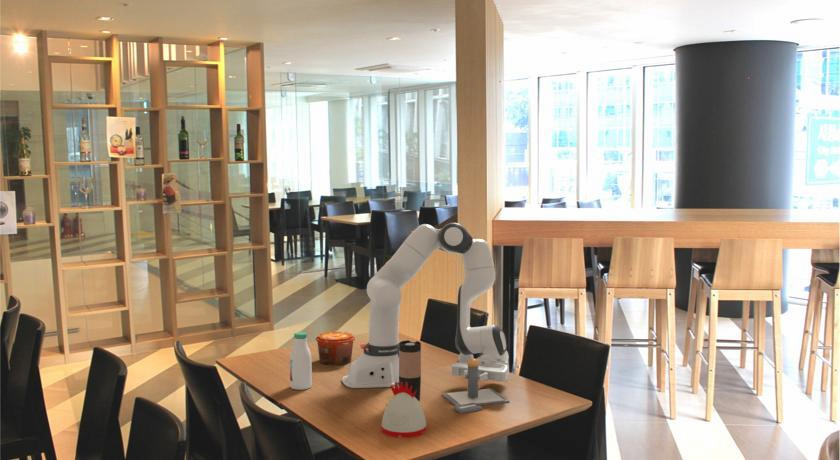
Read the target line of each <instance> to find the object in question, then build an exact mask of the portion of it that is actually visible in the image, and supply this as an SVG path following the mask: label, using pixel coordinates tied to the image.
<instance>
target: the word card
mask: <svg viewBox="0 0 840 460" xmlns="http://www.w3.org/2000/svg"><path fill="white" fill-rule="evenodd" d="M453 410H454V411H456V412H458V413H460V414H467V413H473V412H477V411H481V410H483V406H482V405H480V406H479V405H477V404H475V403H469V404H463V405H458V406H455V405H453Z"/></svg>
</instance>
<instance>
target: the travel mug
mask: <svg viewBox="0 0 840 460" xmlns="http://www.w3.org/2000/svg"><path fill="white" fill-rule="evenodd" d="M421 349H422V343H421V341H419V340H416V341H412V340H401V341H400V342H399V383H398V387H399V389H400V385H401V382H403V388H404V387H405V383H406V382H407V384H408V390H409V389H410V387H411V386H412V390H411V393H412V394H413V393H414V392H415V391H416V390H417V391H416V394H415V396H414V397H415V398H416V399H417V400H418V401H420V400H421V385H422V382H421V381H422V350H421Z"/></svg>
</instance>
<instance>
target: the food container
mask: <svg viewBox="0 0 840 460" xmlns="http://www.w3.org/2000/svg"><path fill="white" fill-rule="evenodd" d="M355 340H356V337H355V336H354V335H353V334H352V333H350V332H348V331H347V332H346V331H345V332H342V331H331V332H323V333H320V334H318V335H317V336H316V337H315V341H316V343H317V352H318V358H319V362H320V363H321V364H324V365H329V366H340V365H341V366H342V365H345V364H349V363H351V362H352V355H353V347H354V341H355Z"/></svg>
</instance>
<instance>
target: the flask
mask: <svg viewBox="0 0 840 460" xmlns="http://www.w3.org/2000/svg"><path fill="white" fill-rule="evenodd" d="M470 358H474V354H471V355H464V354H462V353H461V352H460V351H459V355H458V358H457V361H458V362H468V359H470Z"/></svg>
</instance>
